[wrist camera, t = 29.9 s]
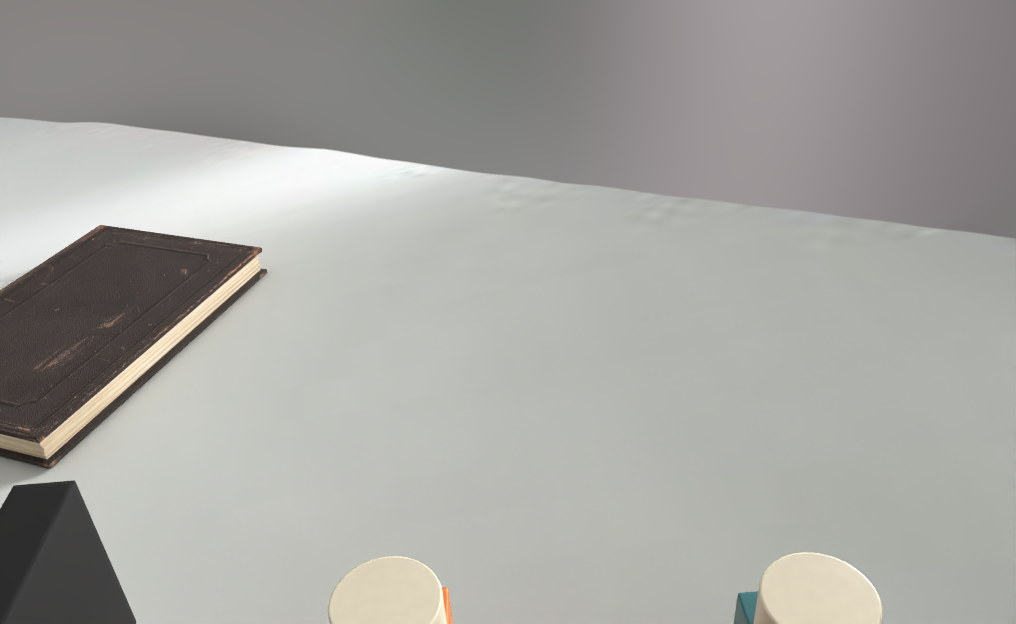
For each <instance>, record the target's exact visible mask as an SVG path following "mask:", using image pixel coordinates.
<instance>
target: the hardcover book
mask: <svg viewBox="0 0 1016 624" xmlns="http://www.w3.org/2000/svg"><path fill="white" fill-rule="evenodd" d="M261 252H262V248H260V247H253V246H245V245H238V244H231V243H224V242H217V241H210V240H203V239H196V238H189V237H182V236H175V235H168V234H161V233H153V232H146V231H139V230H132V229H125V228H118V227H111V226H104V225H100V226H98V227H97V228H95V229H94V230H92V231H90V232H89V233H87V234H86V235H84V236H83V237H81V238H80V239H78V240H77V241H75V242H74V243H72V244H71V245H69V246H68V247H66V248H64V249H63V250H61V251H60V252H58V253H57V254H55V255H54V256H52V257H51V258H49V259H48V260H46V261H45V262H43V263H42V264H40V265H38V266H37V267H35V268H34V269H32V270H31V271H29V272H28V273H26V274H25V275H23V276H22V277H20V278H19V279H17V280H15V281H14V282H12V283H11V284H9V285H8V286H6V287H5V288H3V289H2V290H0V455H1V456H4V457H8V458H12V459H16V460H20V461H24V462H28V463H32V464H36V465H40V466H44V467H48V468H51V467H52V466H53V465H55V464H56V463H57V462H58V461H59V460H60V459H61V458H62V457H63V456H64V455H66V454H67V453H68V452H69V451H70V450H71V449H72V448H73V447H74V446H76V445H77V444H78V443H79V442H80V441H81V440H82V439H83V438H84V437H86V436H87V435H88V434H89V433H90V432H91V431H92V430H93V429H94V428H95V427H97V426H98V425H99V424H100V423H101V422H102V421H103V420H104V419H105V418H107V417H108V416H109V415H110V414H111V413H112V412H113V411H114V410H115V409H116V408H118V407H119V406H120V405H121V404H122V403H123V402H124V401H125V400H126V399H128V398H129V397H130V396H131V395H132V394H133V393H134V392H135V391H136V390H138V389H139V388H140V387H141V386H142V385H143V384H144V383H145V382H146V381H147V380H149V379H150V378H151V377H152V376H153V375H154V374H155V373H156V372H157V371H159V370H160V369H161V368H162V367H163V366H164V365H165V364H166V363H167V362H168V361H170V360H171V359H172V358H173V357H174V356H175V355H176V354H177V353H178V352H180V351H181V350H182V349H183V348H184V347H185V346H186V345H187V344H188V343H189V342H191V341H192V340H193V339H194V338H195V337H196V336H197V335H198V334H199V333H201V332H202V331H203V330H204V329H205V328H206V327H207V326H208V325H209V324H211V323H212V322H213V321H214V320H215V319H216V318H217V317H218V316H219V315H220V314H222V313H223V312H224V311H225V310H226V309H227V308H228V307H229V306H230V305H232V304H233V303H234V302H235V301H236V300H237V299H238V298H239V297H240V296H241V295H243V294H244V293H245V292H246V291H247V290H248V289H249V288H250V287H251V286H253V285H254V284H255V283H256V282H257V281H258V280H259V279H260V278H261V277H263V276H264V275H265V274H266V273H267V270H266V269H260V266H259V262H260V260H259V259H257V255H258V254H259V253H261Z"/></svg>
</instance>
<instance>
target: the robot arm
mask: <svg viewBox="0 0 1016 624" xmlns="http://www.w3.org/2000/svg"><path fill="white" fill-rule="evenodd" d="M0 624H136V620H135V617H134V615H133V613H132V611H131V608H130V606H129V604H128V601H127V599H126V597H125V594H124V592H123V590H122V588H121V585H120V583H119V581H118V578H117V576H116V574H115V572H114V569H113V567H112V565H111V562H110V560H109V558H108V555H107V553H106V551H105V549H104V546H103V544H102V542H101V539H100V537H99V535H98V533H97V530H96V528H95V526H94V523H93V521H92V519H91V516H90V514H89V512H88V510H87V507H86V505H85V503H84V500H83V498H82V496H81V494H80V491H79V489H78V487H77V484H76V482H75V481H63V482H51V483H39V484H27V485H15V486H13V488H12V490H11V491H10V493H9V495H8V496H7V498H6V500H5V502H4V503H3V505H2V507H1V509H0Z"/></svg>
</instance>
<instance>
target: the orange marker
mask: <svg viewBox="0 0 1016 624" xmlns="http://www.w3.org/2000/svg"><path fill="white" fill-rule="evenodd" d="M328 616H329V621H330V624H453V623H452V615H451V608H450V600H449V592H448V588H446V587H445V588H441V584H440V582H439V580H438V578H437V577H436V575H435V574H434V573H433V572H432V570H431V569H429V568H428V567H427V566H426V565H424V564H422V563H421V562H418V561H416V560H413V559H410V558H406V557H397V556H391V557H381V558H377V559H373V560H370V561H367V562H365V563H363V564H361V565H359V566H357V567H355V568H354V569H353V570H351V571H350V572H348V573H347V574H346V575H345V576H344V577H343V578H342V579H341V580H340V581H339V583H338V584H337V586H336V587H335V589H334V591H333V593H332V595H331V598H330V601H329V606H328Z"/></svg>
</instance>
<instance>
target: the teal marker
mask: <svg viewBox="0 0 1016 624" xmlns="http://www.w3.org/2000/svg"><path fill="white" fill-rule="evenodd" d="M881 621H882V605H881V601H880V598H879V596H878V593H877V591H876V590H875V588H874V586H873V585H872V584H871V582H870V581H869V580H868V579H867V578H866V577H865V576H864V575H863V574H862V573H861V572H859V571H858V570H857V569H855V568H854V567H853V566H851V565H849V564H847V563H846V562H844V561H841V560H839V559H837V558H834V557H831V556H828V555H824V554H818V553H795V554H791V555H787V556H784V557H782V558H780V559H778V560H776V561H775V562H773V563H772V564H771V565H770V566H769V567H768V568H767V569H766V570H765V572H764V573H763V575H762V577H761V580H760V584H759V590H758V591H757V592H745V593H739V594H738V597H737V604H736V612H735V619H734V624H881Z"/></svg>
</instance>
